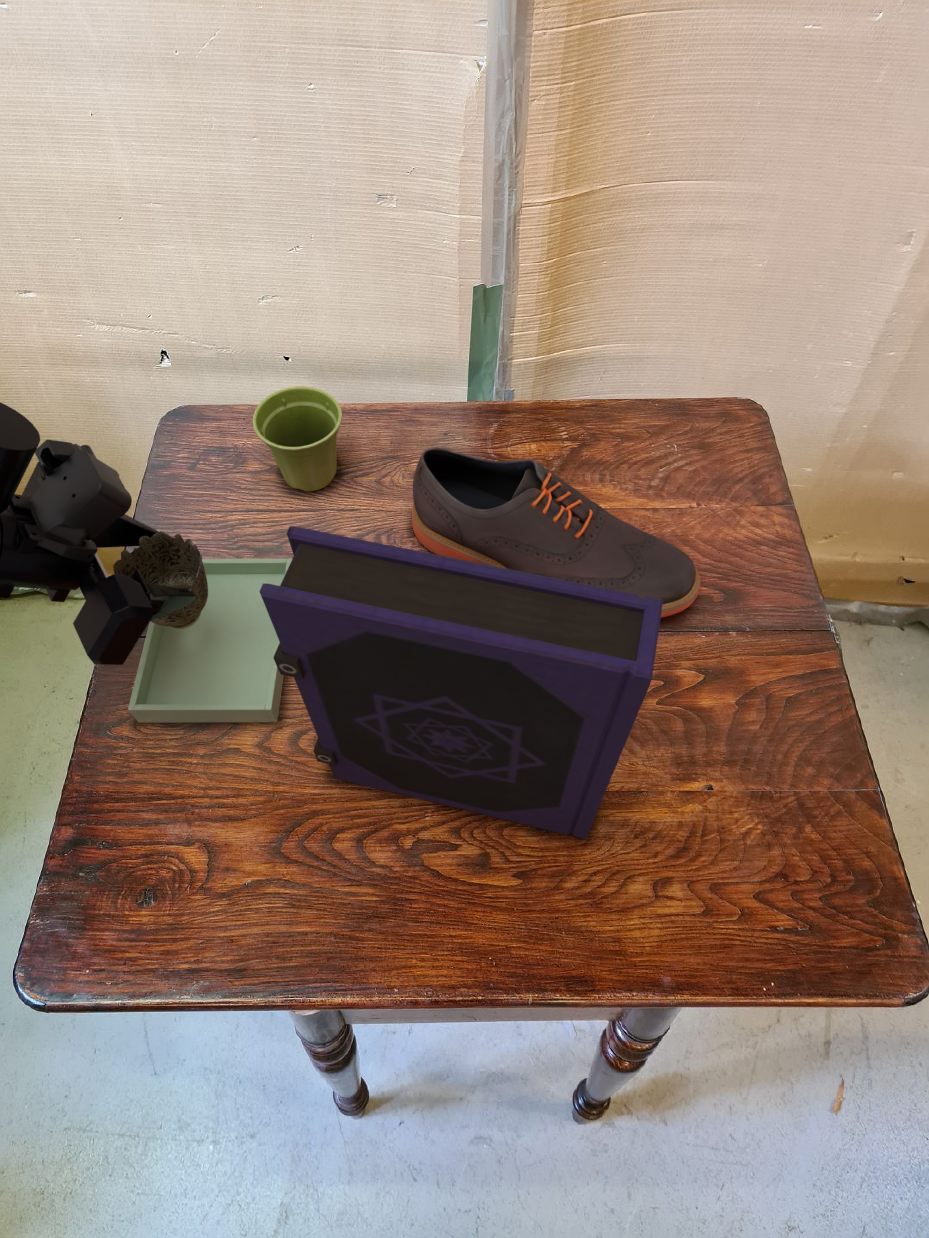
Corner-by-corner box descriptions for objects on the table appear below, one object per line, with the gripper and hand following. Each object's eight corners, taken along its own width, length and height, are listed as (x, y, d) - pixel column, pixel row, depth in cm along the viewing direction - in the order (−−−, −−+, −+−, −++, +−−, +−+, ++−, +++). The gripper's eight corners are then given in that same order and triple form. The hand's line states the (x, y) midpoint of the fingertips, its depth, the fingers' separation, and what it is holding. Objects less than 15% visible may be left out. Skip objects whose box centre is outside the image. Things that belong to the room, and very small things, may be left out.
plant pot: (330, 432, 95) (318, 375, 88) (365, 483, 91) (356, 427, 83) (257, 461, 93) (239, 405, 85) (289, 515, 88) (273, 461, 81)
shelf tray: (138, 722, 75) (127, 710, 73) (173, 574, 84) (164, 558, 82) (277, 722, 75) (271, 709, 73) (297, 573, 84) (292, 558, 82)
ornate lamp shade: (175, 664, 72) (145, 616, 65) (127, 617, 75) (94, 567, 68) (239, 613, 75) (218, 562, 68) (192, 570, 78) (166, 517, 71)
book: (596, 777, 72) (664, 592, 46) (584, 845, 69) (651, 684, 43) (348, 720, 75) (286, 517, 50) (326, 781, 72) (247, 598, 46)
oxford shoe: (680, 652, 79) (709, 588, 69) (391, 564, 85) (380, 493, 75) (702, 567, 84) (732, 496, 75) (430, 489, 90) (425, 415, 81)
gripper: (71, 548, 50) (268, 573, 62) (-11, 378, 58) (177, 430, 71) (5, 669, 54) (202, 670, 67) (-62, 494, 62) (123, 524, 75)
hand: (176, 567), depth 70 cm, fingers closed on ornate lamp shade, 7 cm apart
